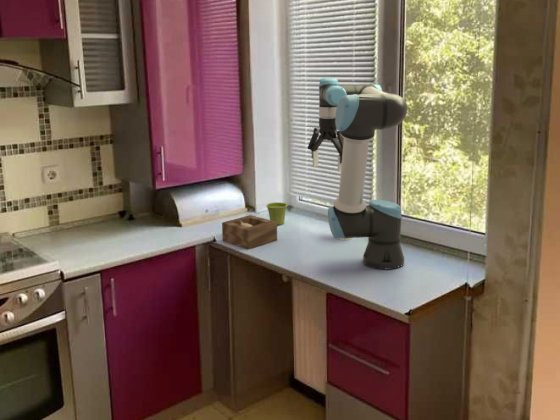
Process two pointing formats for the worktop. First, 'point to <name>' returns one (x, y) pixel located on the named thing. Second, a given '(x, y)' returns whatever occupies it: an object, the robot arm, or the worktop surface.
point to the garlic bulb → (245, 224)
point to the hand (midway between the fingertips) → (327, 168)
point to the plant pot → (277, 212)
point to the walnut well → (249, 232)
